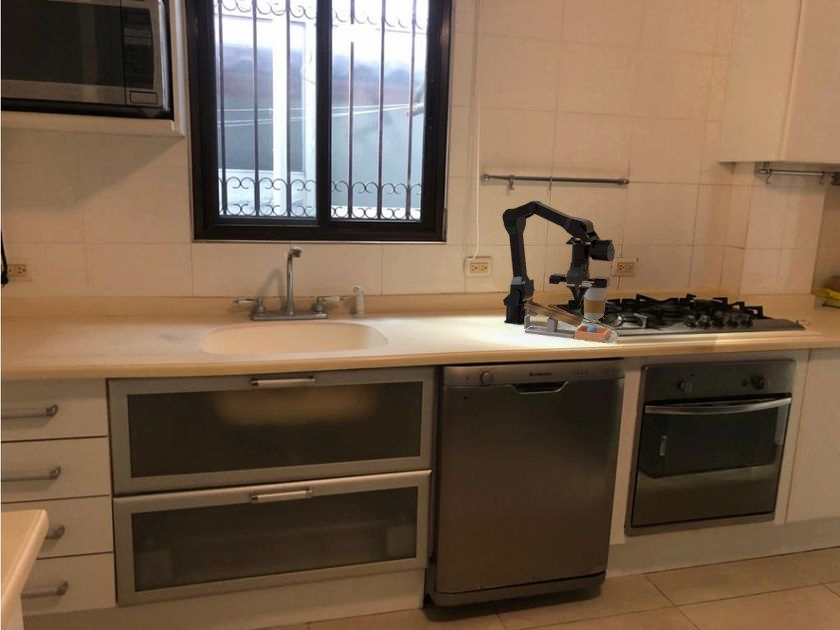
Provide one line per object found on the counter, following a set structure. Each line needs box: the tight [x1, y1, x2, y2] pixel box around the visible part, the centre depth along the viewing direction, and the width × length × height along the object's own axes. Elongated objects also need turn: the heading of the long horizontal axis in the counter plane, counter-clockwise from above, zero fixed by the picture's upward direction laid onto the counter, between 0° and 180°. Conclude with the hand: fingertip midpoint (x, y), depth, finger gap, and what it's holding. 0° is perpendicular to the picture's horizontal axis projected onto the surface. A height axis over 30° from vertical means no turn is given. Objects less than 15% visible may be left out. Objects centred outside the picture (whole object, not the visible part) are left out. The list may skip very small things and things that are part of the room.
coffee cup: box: [583, 277, 608, 319], centre depth 230 cm, size 8×8×15 cm
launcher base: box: [523, 314, 577, 339], centre depth 214 cm, size 17×8×5 cm, turn 63°
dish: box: [574, 324, 612, 344], centre depth 208 cm, size 9×9×3 cm
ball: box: [587, 325, 597, 333], centre depth 208 cm, size 3×3×3 cm
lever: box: [524, 296, 584, 328], centre depth 215 cm, size 18×10×5 cm, turn 63°
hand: (577, 306), depth 214 cm, fingers closed
